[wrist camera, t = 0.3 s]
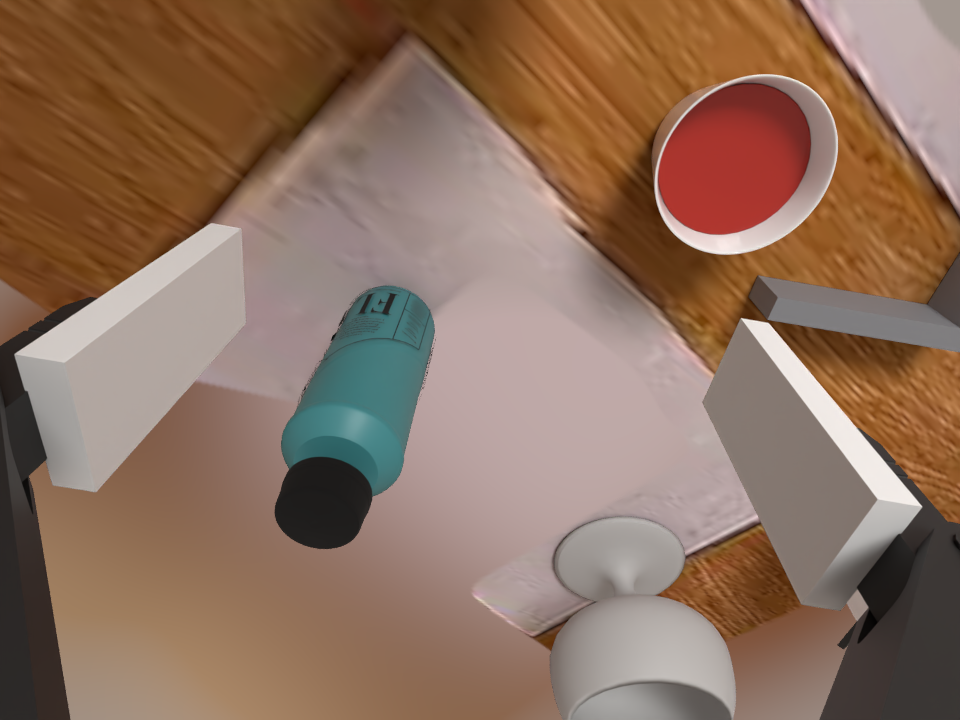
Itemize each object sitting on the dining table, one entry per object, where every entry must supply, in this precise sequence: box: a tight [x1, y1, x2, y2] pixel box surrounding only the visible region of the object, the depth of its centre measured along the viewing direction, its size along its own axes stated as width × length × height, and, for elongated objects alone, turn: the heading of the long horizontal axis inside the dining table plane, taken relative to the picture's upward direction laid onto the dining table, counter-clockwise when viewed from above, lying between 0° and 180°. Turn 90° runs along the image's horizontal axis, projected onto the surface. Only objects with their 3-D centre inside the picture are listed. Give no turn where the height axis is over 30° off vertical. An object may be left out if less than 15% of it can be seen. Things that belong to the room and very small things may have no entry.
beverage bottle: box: [275, 286, 435, 549], centre depth 33 cm, size 6×7×20 cm
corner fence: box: [749, 253, 960, 352], centre depth 34 cm, size 18×14×4 cm
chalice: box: [550, 517, 736, 720], centre depth 48 cm, size 14×14×15 cm
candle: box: [652, 74, 838, 255], centre depth 32 cm, size 9×9×6 cm
